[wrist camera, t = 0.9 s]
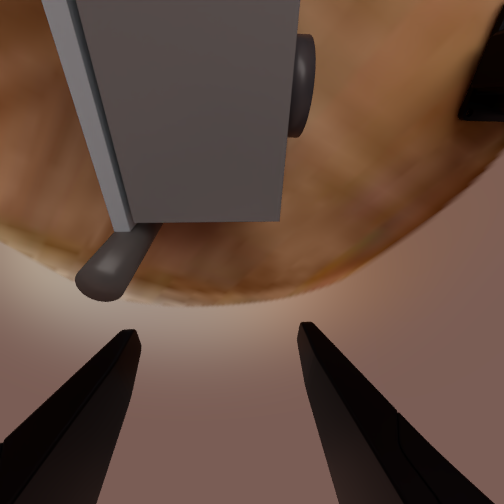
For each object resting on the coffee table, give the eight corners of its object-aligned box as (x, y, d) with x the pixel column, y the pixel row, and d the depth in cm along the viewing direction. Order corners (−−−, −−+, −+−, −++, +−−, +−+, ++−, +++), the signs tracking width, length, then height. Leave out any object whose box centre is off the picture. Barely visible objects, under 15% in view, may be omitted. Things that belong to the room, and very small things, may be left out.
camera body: (303, -105, 11) (382, -331, 6) (278, 184, 19) (301, 221, 13) (113, -125, 11) (-31, -408, 5) (165, 184, 18) (133, 222, 12)
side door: (114, -132, 10) (-301, -976, 2) (172, 217, 19) (129, 300, 11) (65, -137, 10) (-569, -1071, 2) (146, 217, 19) (84, 302, 11)
